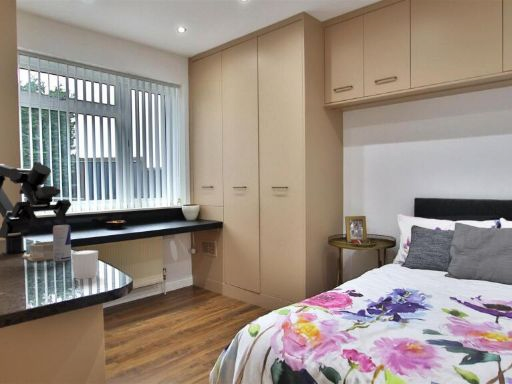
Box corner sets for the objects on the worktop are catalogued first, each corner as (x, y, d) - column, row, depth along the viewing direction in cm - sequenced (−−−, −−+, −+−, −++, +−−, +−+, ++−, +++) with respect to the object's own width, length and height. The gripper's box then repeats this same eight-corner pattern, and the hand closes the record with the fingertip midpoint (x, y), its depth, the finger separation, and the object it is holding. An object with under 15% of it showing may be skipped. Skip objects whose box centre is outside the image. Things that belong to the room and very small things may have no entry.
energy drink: (74, 258, 126) (73, 224, 126) (64, 261, 121) (64, 226, 120) (60, 258, 126) (59, 224, 126) (49, 261, 121) (49, 226, 121)
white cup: (71, 280, 96) (71, 255, 96) (71, 275, 102) (71, 251, 102) (99, 277, 99) (99, 252, 99) (97, 272, 106) (97, 248, 105)
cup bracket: (22, 257, 128) (22, 243, 128) (55, 253, 136) (55, 240, 136) (33, 261, 121) (33, 247, 121) (67, 256, 129) (67, 243, 129)
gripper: (15, 178, 120) (34, 211, 115) (67, 178, 136) (86, 208, 131) (3, 201, 124) (21, 234, 119) (56, 199, 140) (73, 228, 135)
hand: (53, 225), depth 126 cm, fingers open, 9 cm apart
